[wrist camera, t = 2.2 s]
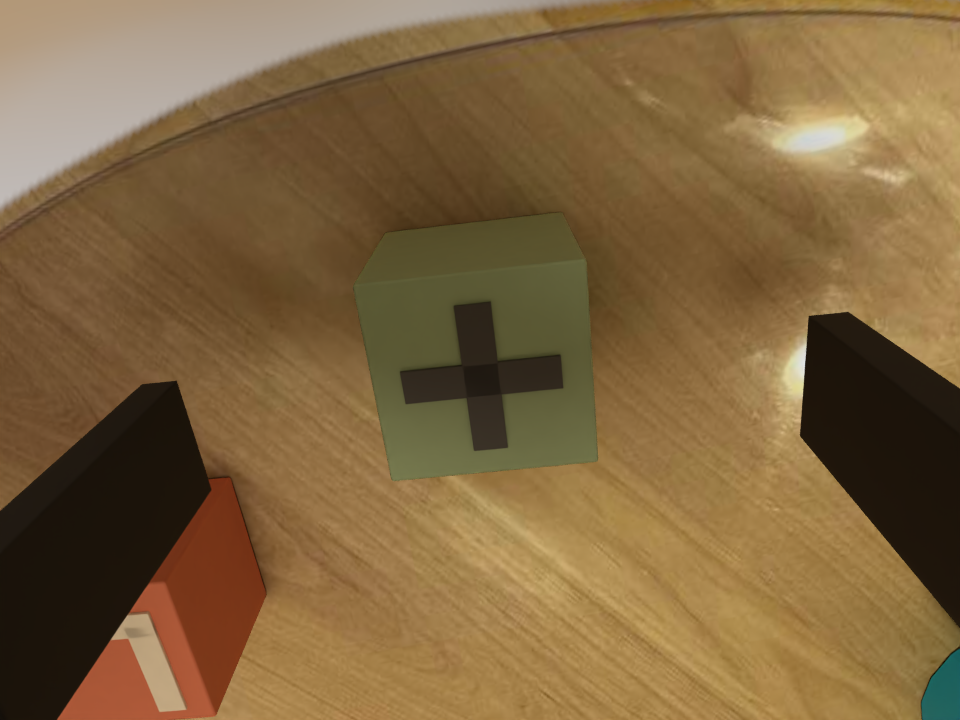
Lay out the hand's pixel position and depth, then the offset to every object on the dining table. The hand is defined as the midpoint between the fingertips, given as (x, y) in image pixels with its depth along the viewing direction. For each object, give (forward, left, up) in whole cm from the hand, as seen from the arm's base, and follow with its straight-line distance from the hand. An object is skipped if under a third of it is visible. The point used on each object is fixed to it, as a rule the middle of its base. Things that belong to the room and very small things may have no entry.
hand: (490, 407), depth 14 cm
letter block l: (-4, -13, -6) cm, 15 cm away
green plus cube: (0, 0, -6) cm, 6 cm away
